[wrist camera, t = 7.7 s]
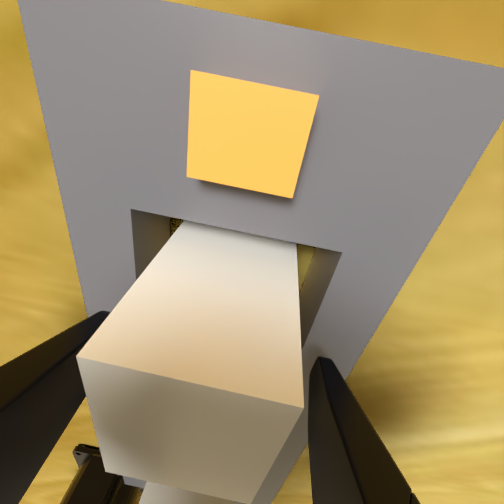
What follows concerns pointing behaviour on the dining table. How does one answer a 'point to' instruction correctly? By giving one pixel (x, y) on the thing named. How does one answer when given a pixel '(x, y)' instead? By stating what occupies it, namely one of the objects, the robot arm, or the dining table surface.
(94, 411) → the plug
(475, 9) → the dining table surface
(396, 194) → the power strip
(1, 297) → the dining table surface
